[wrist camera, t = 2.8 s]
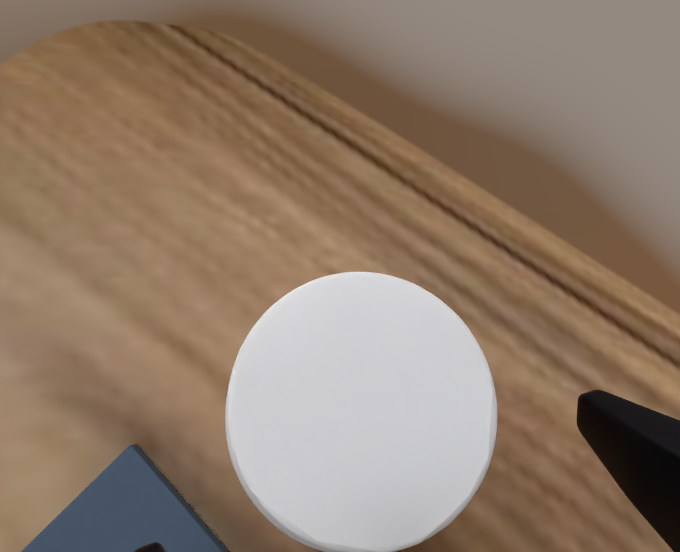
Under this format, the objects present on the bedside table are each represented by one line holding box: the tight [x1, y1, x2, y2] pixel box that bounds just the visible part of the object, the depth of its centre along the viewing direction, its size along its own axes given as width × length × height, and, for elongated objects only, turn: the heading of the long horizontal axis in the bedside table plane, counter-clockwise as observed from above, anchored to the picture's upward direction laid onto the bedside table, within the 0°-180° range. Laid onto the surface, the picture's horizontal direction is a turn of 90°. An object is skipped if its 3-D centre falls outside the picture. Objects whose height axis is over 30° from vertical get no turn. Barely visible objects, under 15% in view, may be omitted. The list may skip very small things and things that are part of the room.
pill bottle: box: [225, 272, 497, 552], centre depth 12 cm, size 6×6×11 cm
